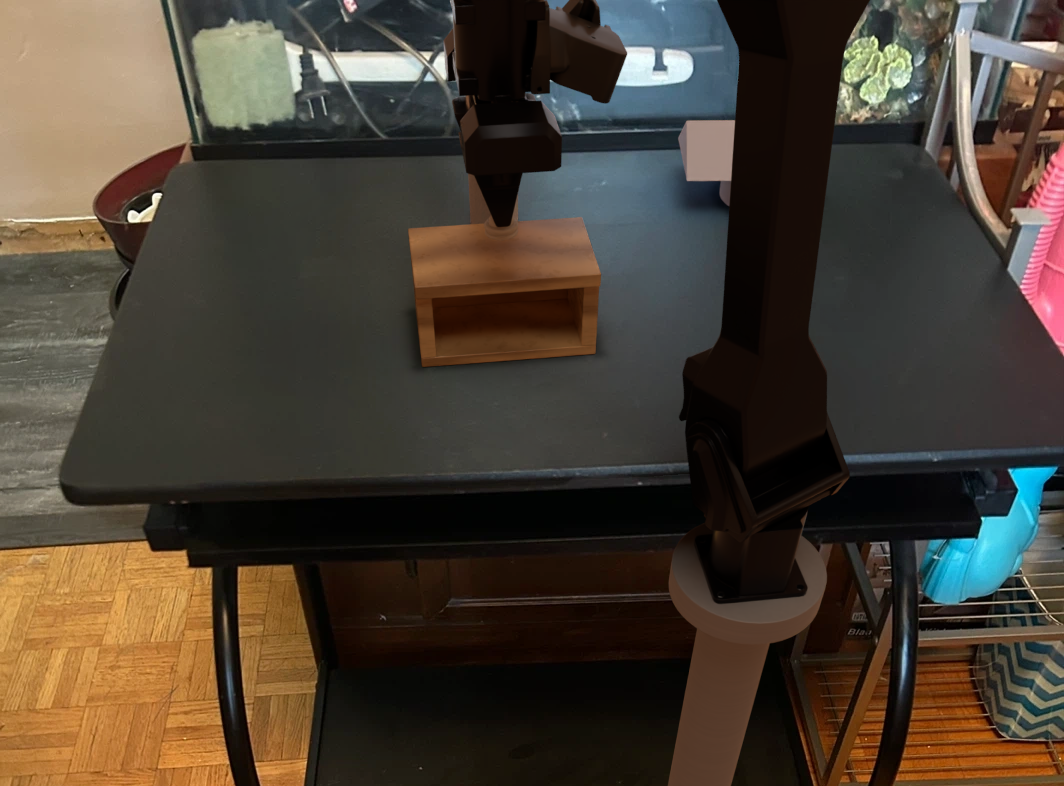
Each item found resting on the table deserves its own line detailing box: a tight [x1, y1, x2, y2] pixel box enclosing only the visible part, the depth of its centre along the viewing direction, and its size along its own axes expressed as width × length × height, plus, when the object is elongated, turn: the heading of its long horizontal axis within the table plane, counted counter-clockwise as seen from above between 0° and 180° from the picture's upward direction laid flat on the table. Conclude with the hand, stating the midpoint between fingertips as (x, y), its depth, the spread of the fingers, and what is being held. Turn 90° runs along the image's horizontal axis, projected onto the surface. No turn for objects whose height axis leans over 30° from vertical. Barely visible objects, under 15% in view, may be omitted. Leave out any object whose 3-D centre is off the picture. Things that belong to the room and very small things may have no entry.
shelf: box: [407, 216, 602, 368], centre depth 82 cm, size 9×14×7 cm, turn 97°
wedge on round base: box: [677, 119, 735, 207], centre depth 96 cm, size 9×7×13 cm
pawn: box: [484, 216, 518, 241], centre depth 76 cm, size 3×3×4 cm
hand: (501, 219), depth 77 cm, fingers closed on pawn, 2 cm apart
